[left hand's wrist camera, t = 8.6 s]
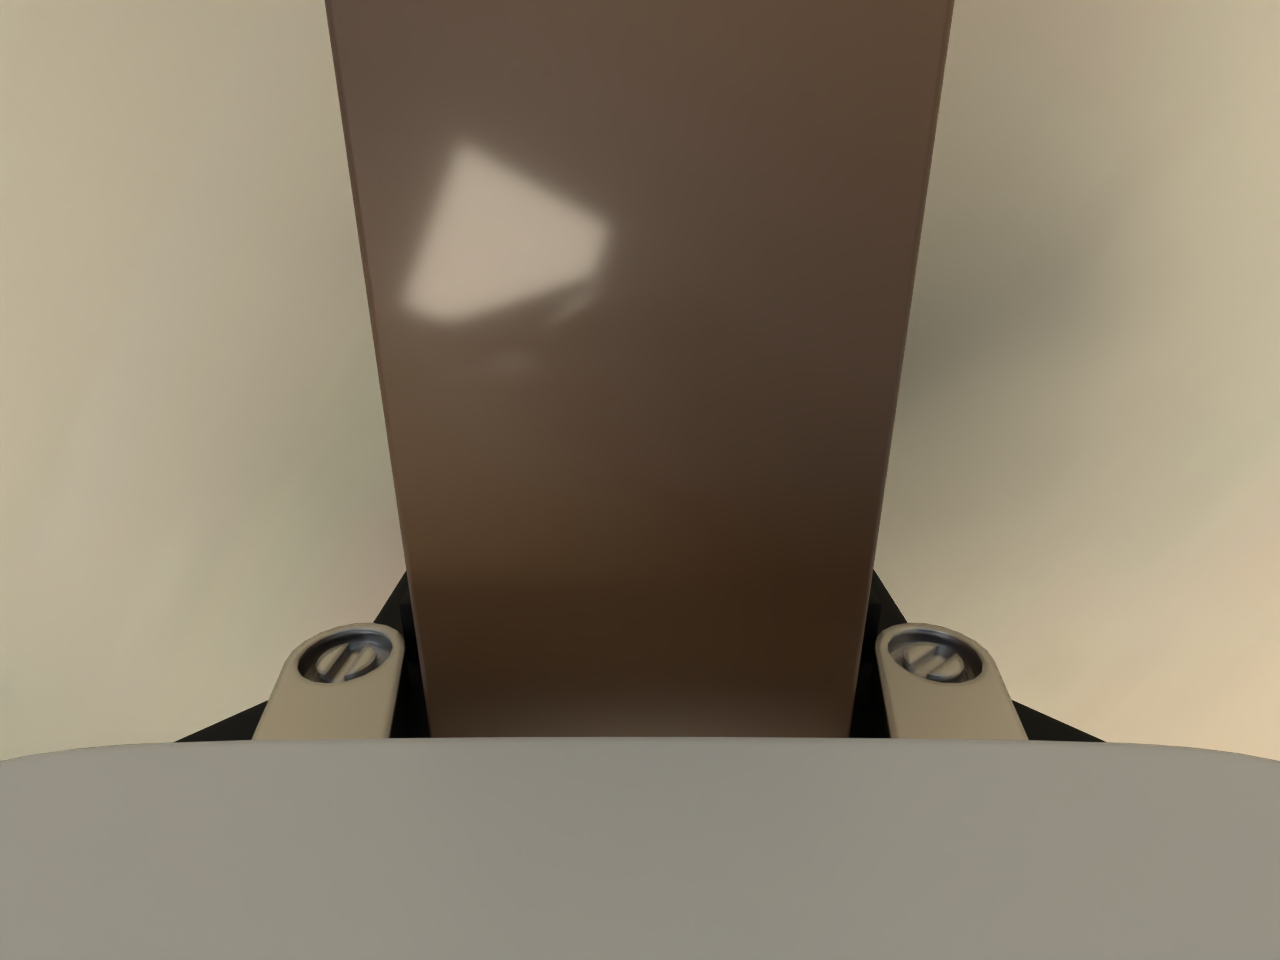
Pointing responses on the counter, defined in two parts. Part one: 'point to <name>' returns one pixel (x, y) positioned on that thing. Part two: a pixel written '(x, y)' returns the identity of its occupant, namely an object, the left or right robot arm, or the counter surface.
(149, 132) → the counter surface
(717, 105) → the beam
